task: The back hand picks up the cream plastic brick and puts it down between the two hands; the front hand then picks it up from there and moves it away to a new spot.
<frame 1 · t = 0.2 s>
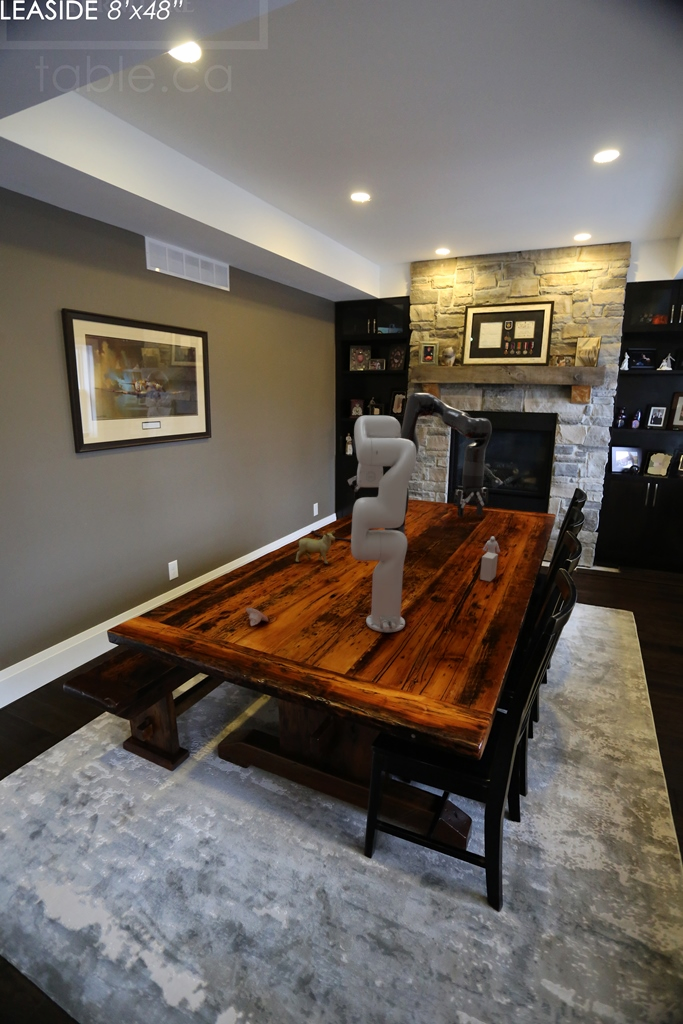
front hand: (369, 500, 198), 31 cm above the table, tool pointing down, fingers open, 9 cm apart
back hand: (469, 516, 187), 29 cm above the table, tool pointing down, fingers open, 8 cm apart
toy: (316, 562, 218), on the table
figurine: (490, 560, 225), on the table
brick: (487, 578, 204), on the table
seashell: (256, 623, 161), on the table
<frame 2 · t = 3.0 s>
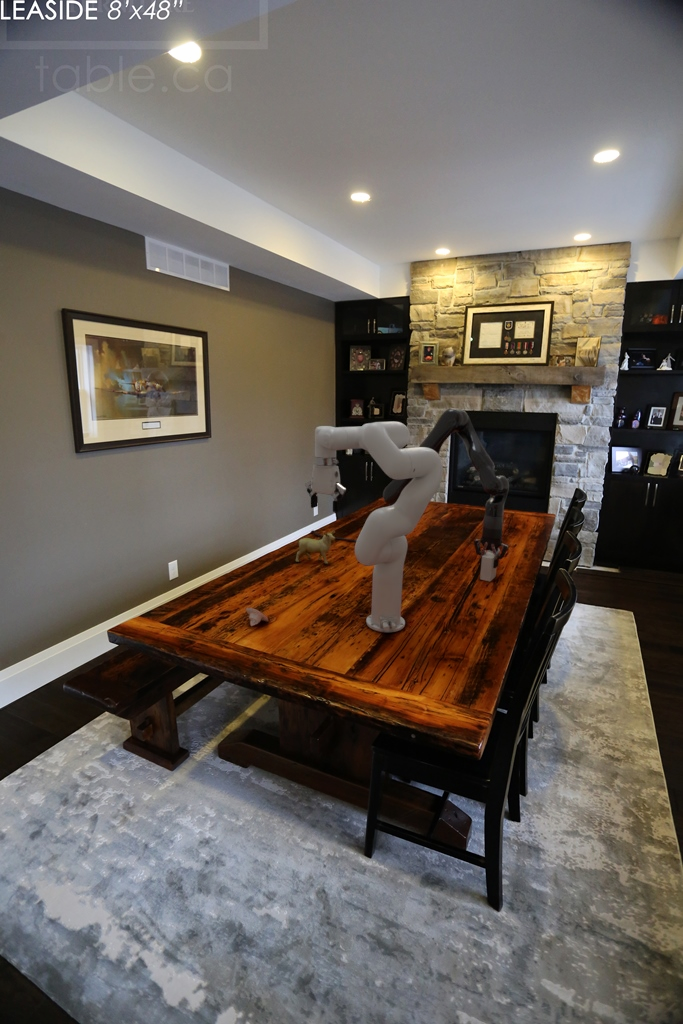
front hand: (324, 509, 180), 32 cm above the table, tool pointing down, fingers open, 9 cm apart
back hand: (488, 566, 203), 5 cm above the table, tool pointing down, fingers closed on brick, 4 cm apart
brick: (487, 578, 204), on the table, touching back hand
everything else where it was.
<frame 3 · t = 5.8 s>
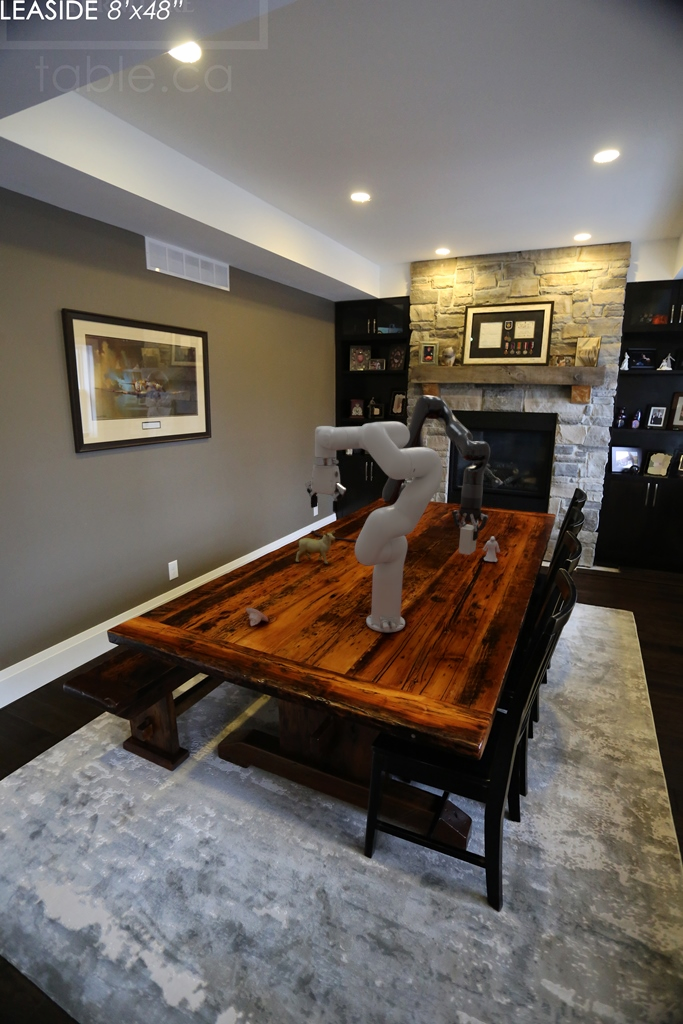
front hand: (324, 509, 180), 32 cm above the table, tool pointing down, fingers open, 9 cm apart
back hand: (468, 538, 190), 19 cm above the table, tool pointing down, fingers closed on brick, 4 cm apart
brick: (467, 551, 191), point 14 cm above the table, touching back hand
everything else where it was.
when the back hand's fingers open (7 cm above the table, at t = 8.4 s): brick drops 1 cm, on the table.
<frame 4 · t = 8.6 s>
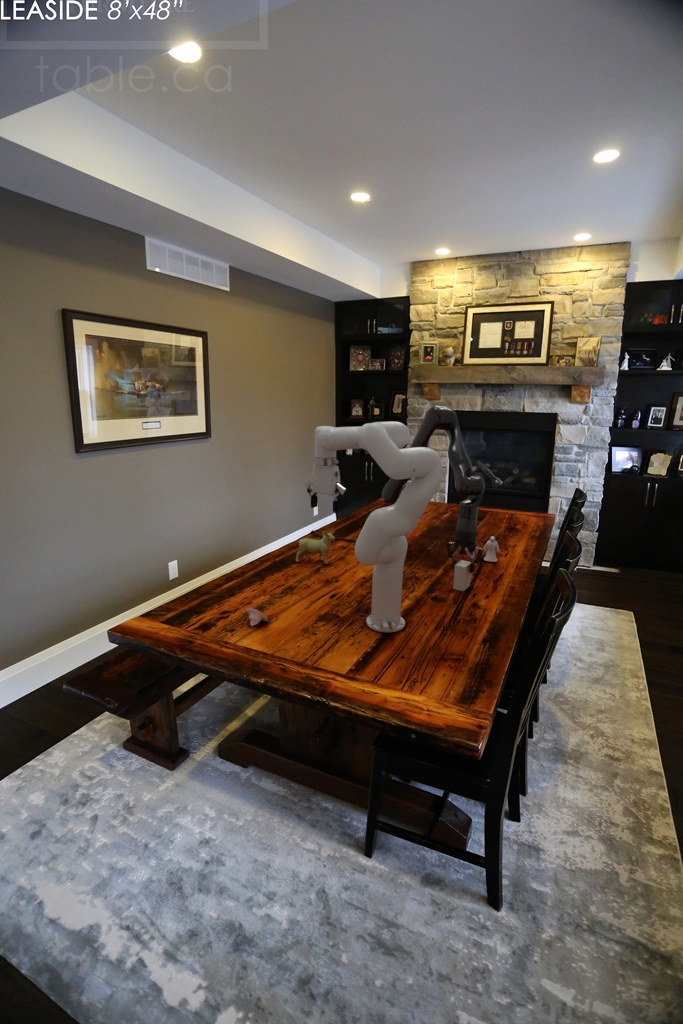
front hand: (324, 509, 180), 32 cm above the table, tool pointing down, fingers open, 9 cm apart
back hand: (463, 570, 192), 7 cm above the table, tool pointing down, fingers open, 5 cm apart
brick: (461, 587, 194), on the table
everything else where it was.
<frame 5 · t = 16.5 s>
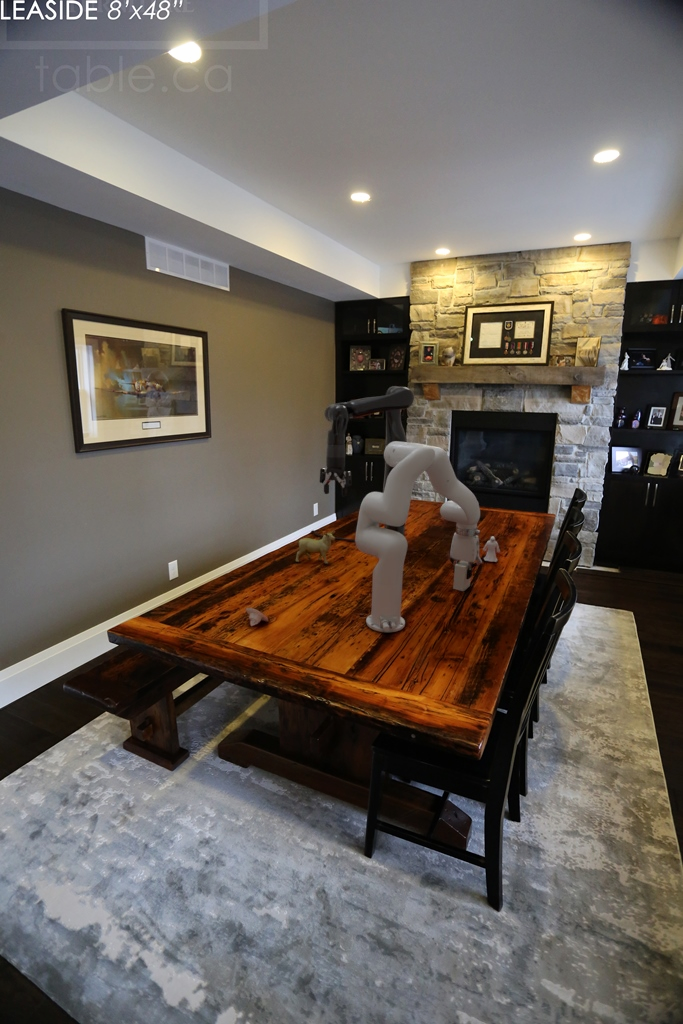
front hand: (462, 576, 193), 5 cm above the table, tool pointing down, fingers closed on brick, 4 cm apart
back hand: (335, 495, 204), 32 cm above the table, tool pointing down, fingers open, 8 cm apart
brick: (461, 587, 194), on the table, touching front hand
everything else where it was.
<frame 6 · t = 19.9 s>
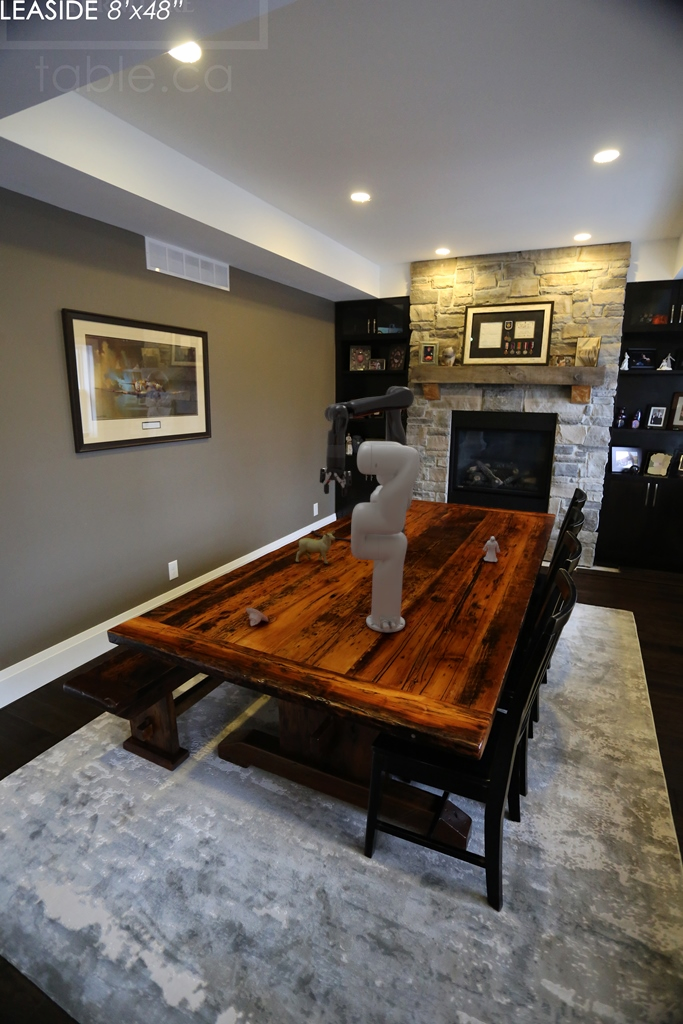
front hand: (382, 565, 189), 10 cm above the table, tool pointing down, fingers closed on brick, 4 cm apart
back hand: (335, 495, 204), 32 cm above the table, tool pointing down, fingers open, 8 cm apart
brick: (382, 576, 190), point 5 cm above the table, touching front hand
everything else where it was.
when the front hand's fingers open (6 cm above the table, at t = 23.5 s): brick drops 2 cm, on the table.
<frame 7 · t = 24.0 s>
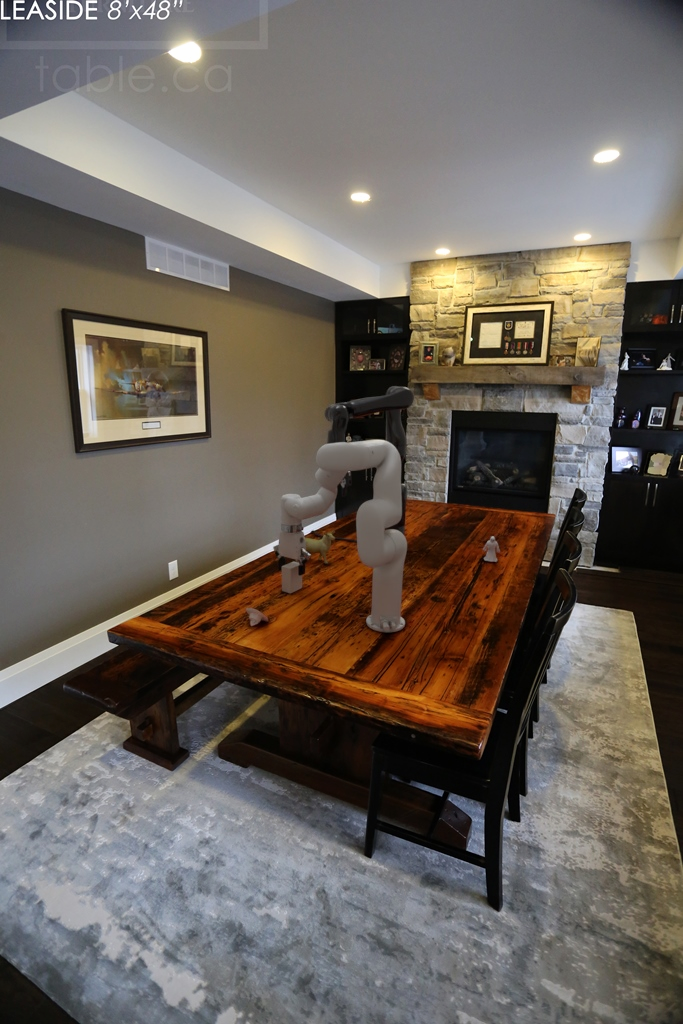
front hand: (291, 571, 187), 7 cm above the table, tool pointing down, fingers open, 9 cm apart
back hand: (335, 495, 204), 32 cm above the table, tool pointing down, fingers open, 8 cm apart
brick: (292, 589, 189), on the table
everything else where it was.
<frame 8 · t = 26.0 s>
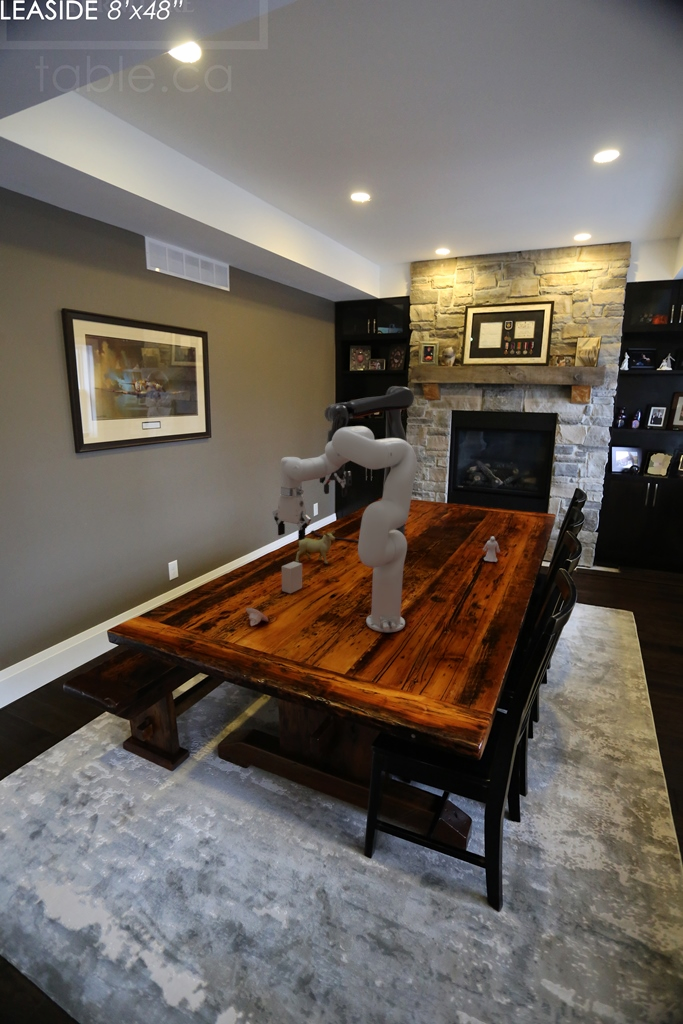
front hand: (291, 537, 184), 21 cm above the table, tool pointing down, fingers open, 9 cm apart
back hand: (335, 495, 204), 32 cm above the table, tool pointing down, fingers open, 8 cm apart
nothing on the table moved.
at the end: brick inside the target area (0.2 cm from its centre), on the table; brick tilted 0°; the two hands never held the brick at the same time; the front hand is holding nothing; the back hand is holding nothing; brick at rest at the end (0.0 cm/s) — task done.
